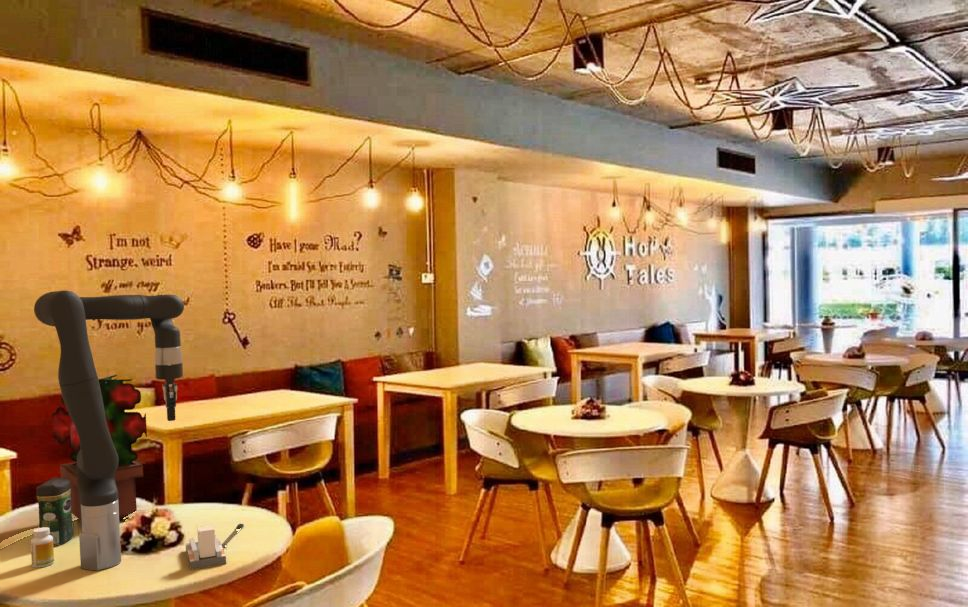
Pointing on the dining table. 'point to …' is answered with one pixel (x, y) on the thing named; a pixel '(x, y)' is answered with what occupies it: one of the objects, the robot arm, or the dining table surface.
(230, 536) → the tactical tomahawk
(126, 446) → the potted plant
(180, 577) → the dining table surface
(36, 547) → the supplement bottle
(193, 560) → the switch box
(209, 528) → the switch tab
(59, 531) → the coffee jar
